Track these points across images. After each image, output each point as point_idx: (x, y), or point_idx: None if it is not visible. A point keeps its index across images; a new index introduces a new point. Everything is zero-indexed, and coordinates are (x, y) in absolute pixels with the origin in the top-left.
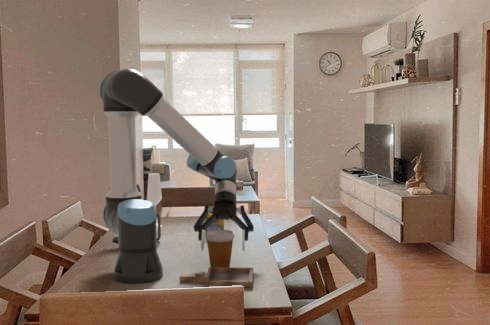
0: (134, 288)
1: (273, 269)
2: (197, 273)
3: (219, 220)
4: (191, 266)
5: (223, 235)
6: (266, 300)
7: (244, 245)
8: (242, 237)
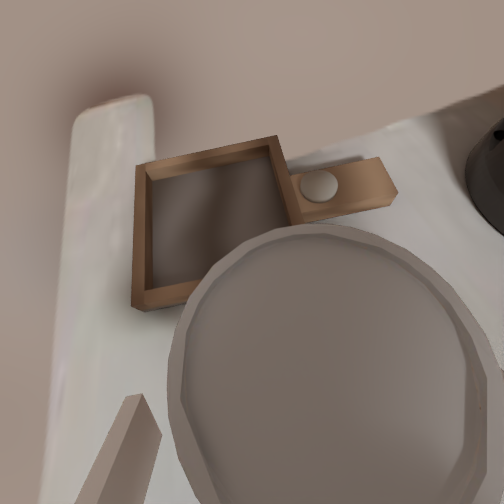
0: (469, 104)
1: (56, 398)
2: (325, 175)
3: None
4: None
5: (243, 242)
6: (113, 126)
7: (123, 412)
8: (102, 485)
